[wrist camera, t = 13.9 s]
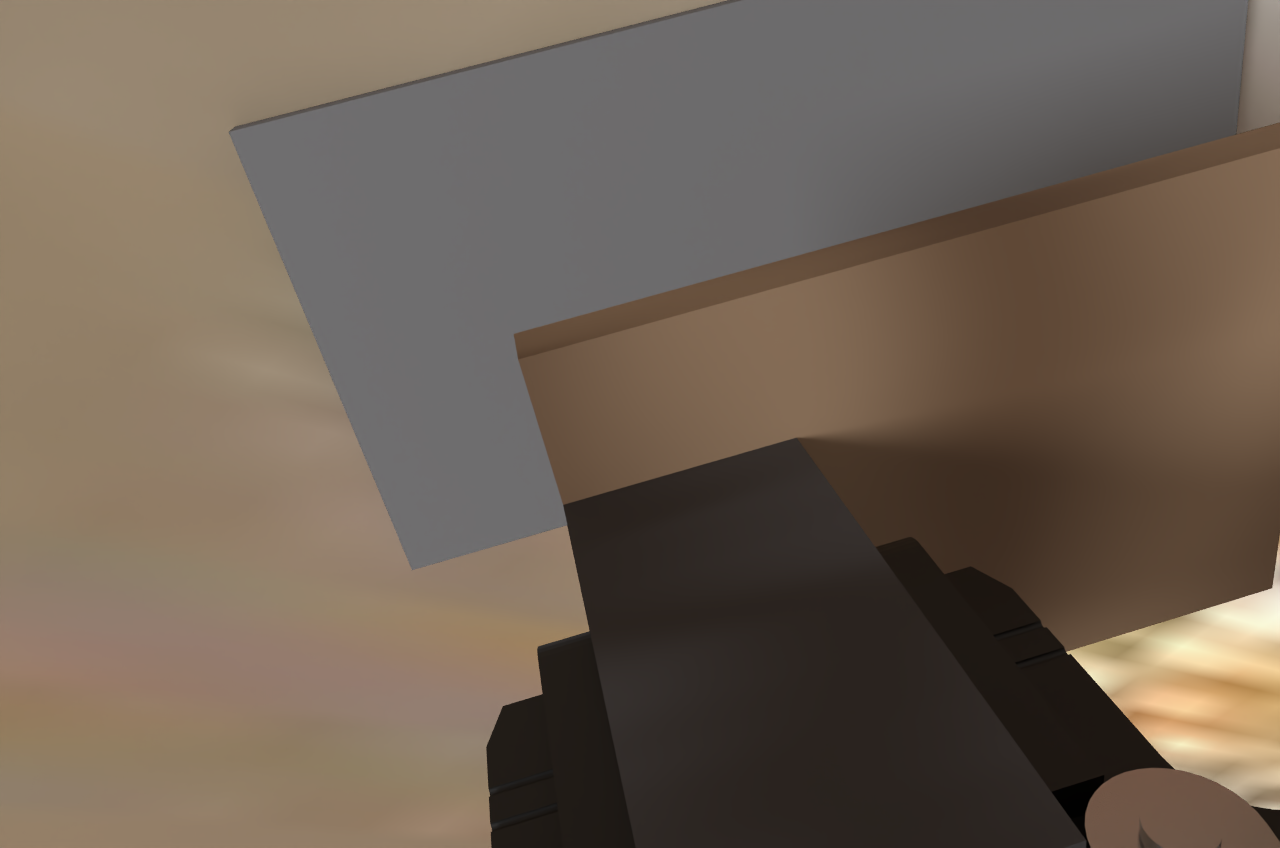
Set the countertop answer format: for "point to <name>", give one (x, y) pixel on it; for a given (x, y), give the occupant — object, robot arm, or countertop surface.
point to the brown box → (912, 491)
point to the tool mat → (675, 191)
